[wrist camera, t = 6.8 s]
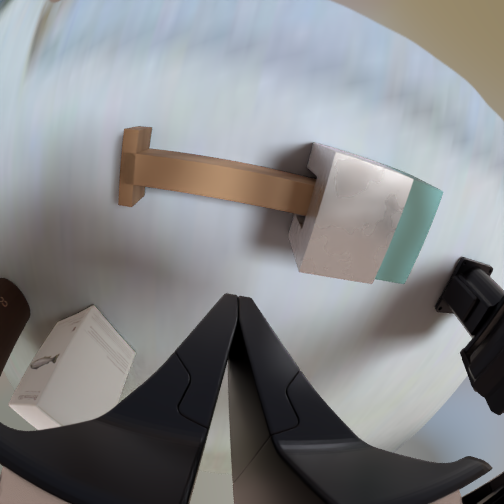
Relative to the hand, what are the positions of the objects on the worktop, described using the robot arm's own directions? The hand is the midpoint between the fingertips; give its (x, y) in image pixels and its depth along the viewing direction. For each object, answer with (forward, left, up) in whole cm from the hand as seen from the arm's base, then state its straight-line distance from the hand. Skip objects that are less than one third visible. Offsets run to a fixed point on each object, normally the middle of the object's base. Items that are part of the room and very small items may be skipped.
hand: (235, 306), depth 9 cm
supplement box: (+13, +18, -12) cm, 25 cm away
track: (-2, -1, -12) cm, 12 cm away
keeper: (-6, -1, -12) cm, 13 cm away
